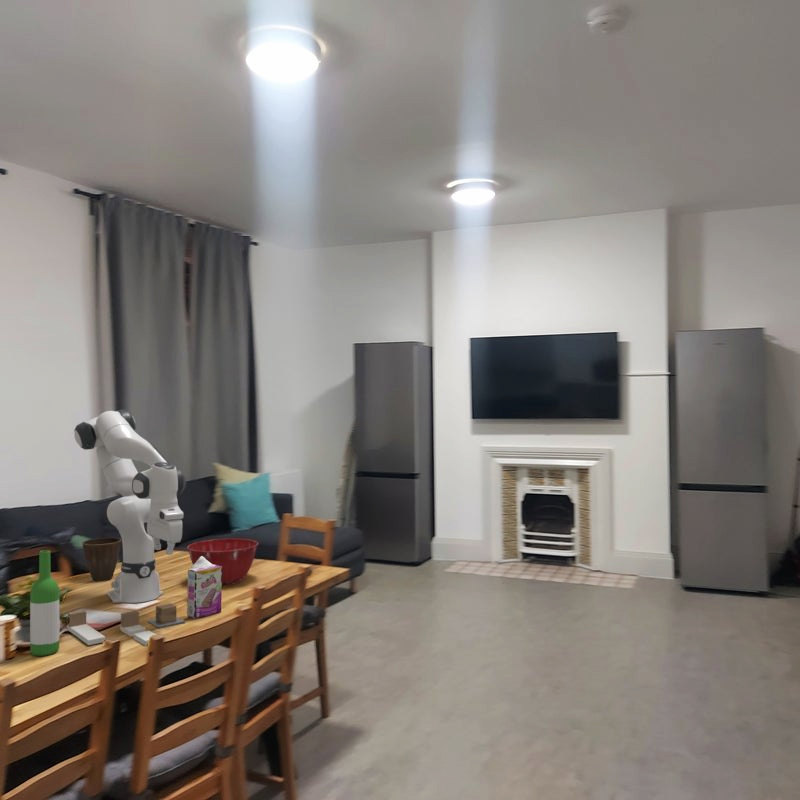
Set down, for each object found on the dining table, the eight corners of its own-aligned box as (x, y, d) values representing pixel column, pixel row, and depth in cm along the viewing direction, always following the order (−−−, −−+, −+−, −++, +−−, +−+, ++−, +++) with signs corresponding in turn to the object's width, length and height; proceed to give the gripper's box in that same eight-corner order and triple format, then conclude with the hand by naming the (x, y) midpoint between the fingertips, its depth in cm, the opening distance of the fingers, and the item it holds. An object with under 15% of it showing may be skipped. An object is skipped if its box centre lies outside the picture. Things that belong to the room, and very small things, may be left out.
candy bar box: (195, 619, 248) (195, 571, 248) (186, 617, 251) (186, 569, 251) (222, 612, 257) (222, 565, 257) (213, 609, 260) (213, 563, 260)
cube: (155, 620, 245) (155, 605, 245) (170, 617, 248) (170, 602, 248) (162, 624, 241) (162, 608, 241) (176, 621, 244) (176, 606, 244)
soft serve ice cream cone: (196, 595, 279) (196, 553, 279) (217, 595, 279) (217, 553, 279) (187, 601, 271) (187, 557, 271) (209, 601, 270) (209, 558, 270)
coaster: (147, 622, 245) (147, 620, 245) (173, 617, 251) (173, 615, 251) (158, 628, 238) (158, 626, 238) (184, 623, 244) (184, 621, 244)
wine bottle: (30, 650, 218) (30, 549, 218) (59, 646, 221) (59, 547, 221) (29, 658, 211) (29, 554, 211) (59, 654, 214) (59, 552, 214)
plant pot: (94, 585, 294) (94, 545, 294) (75, 580, 303) (75, 541, 303) (128, 578, 306) (128, 540, 306) (108, 573, 315) (108, 536, 315)
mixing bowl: (175, 580, 302) (175, 543, 302) (237, 570, 320) (237, 535, 320) (206, 594, 280) (206, 554, 280) (271, 582, 299) (271, 544, 299)
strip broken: (120, 630, 237) (120, 613, 237) (135, 627, 240) (135, 610, 240) (145, 645, 222) (145, 627, 222) (161, 642, 225) (161, 624, 225)
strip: (67, 629, 236) (67, 612, 236) (83, 626, 239) (83, 609, 239) (88, 645, 221) (88, 627, 221) (105, 641, 224) (105, 623, 224)
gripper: (142, 508, 252) (141, 548, 252) (167, 515, 236) (167, 558, 237) (160, 506, 256) (159, 545, 256) (186, 513, 241) (185, 555, 241)
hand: (163, 551), depth 246 cm, fingers open, 8 cm apart
